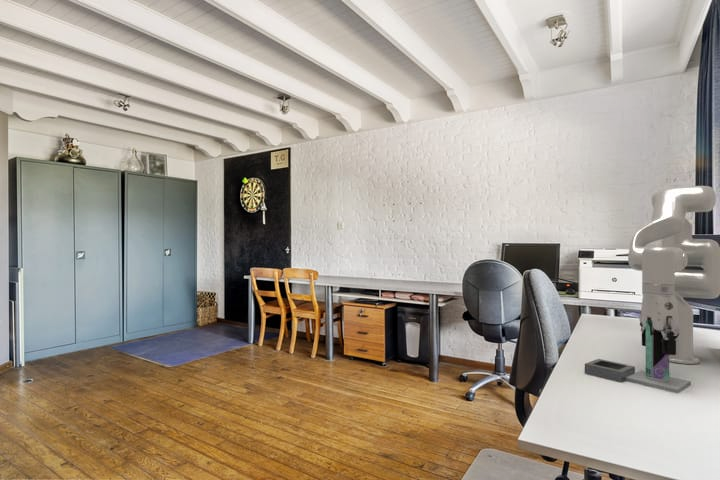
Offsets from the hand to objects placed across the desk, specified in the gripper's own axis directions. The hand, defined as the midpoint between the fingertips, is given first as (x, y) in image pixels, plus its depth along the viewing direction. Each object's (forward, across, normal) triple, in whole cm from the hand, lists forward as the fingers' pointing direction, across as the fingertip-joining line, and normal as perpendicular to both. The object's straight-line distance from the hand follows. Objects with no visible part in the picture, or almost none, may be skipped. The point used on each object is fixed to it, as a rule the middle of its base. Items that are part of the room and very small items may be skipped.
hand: (658, 350), depth 113 cm
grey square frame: (+9, +5, +11) cm, 15 cm away
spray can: (+8, 0, 0) cm, 8 cm away
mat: (+9, 0, 0) cm, 9 cm away
